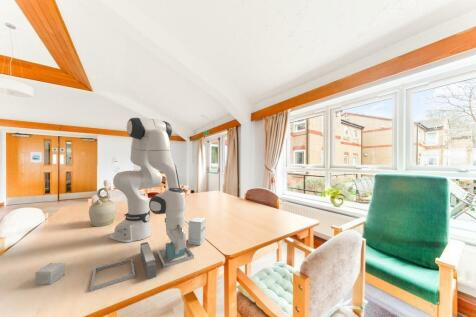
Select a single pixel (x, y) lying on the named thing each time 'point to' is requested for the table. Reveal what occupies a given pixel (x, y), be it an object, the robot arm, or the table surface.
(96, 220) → the jug
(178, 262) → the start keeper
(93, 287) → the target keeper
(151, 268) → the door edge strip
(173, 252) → the teal rectangular block
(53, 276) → the small box
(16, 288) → the table surface
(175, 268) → the table surface
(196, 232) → the supplement box
